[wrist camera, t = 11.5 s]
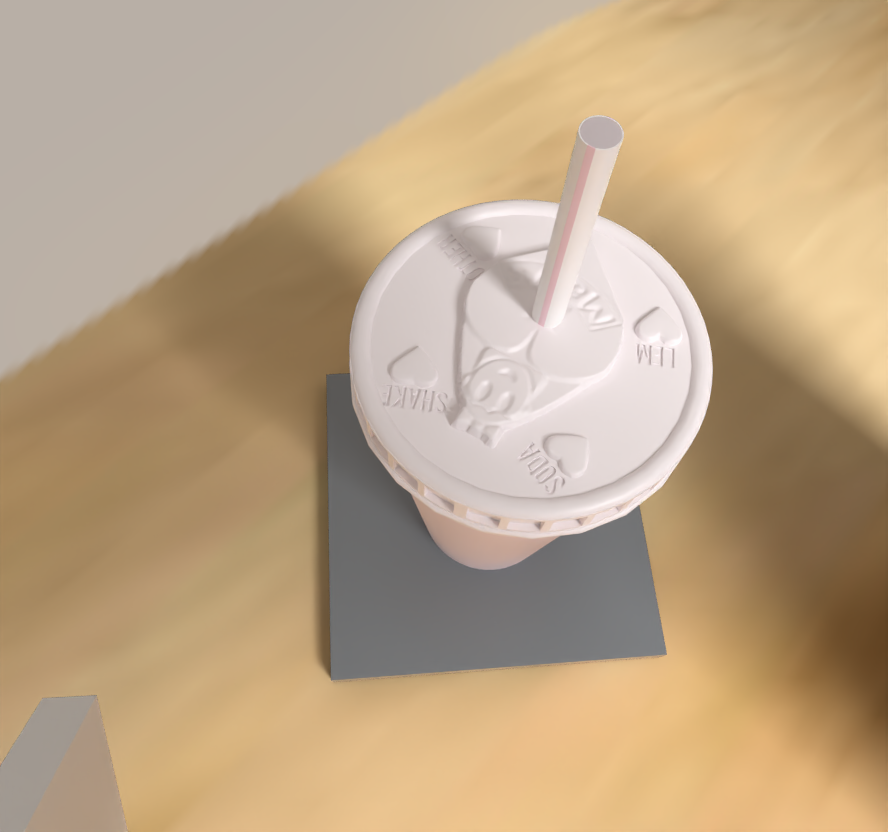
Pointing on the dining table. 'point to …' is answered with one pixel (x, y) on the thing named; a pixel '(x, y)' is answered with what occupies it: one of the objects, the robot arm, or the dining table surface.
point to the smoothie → (529, 366)
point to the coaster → (468, 583)
